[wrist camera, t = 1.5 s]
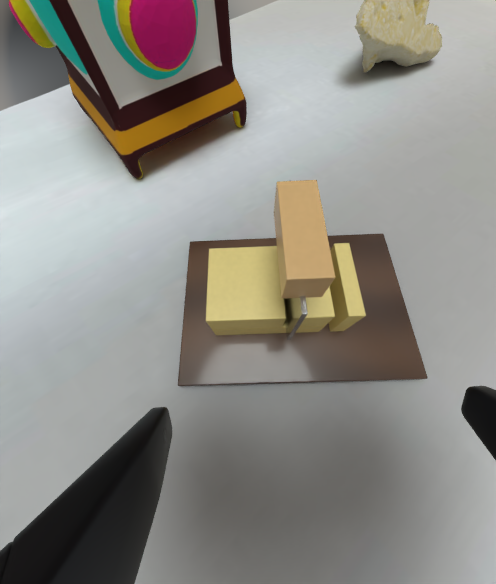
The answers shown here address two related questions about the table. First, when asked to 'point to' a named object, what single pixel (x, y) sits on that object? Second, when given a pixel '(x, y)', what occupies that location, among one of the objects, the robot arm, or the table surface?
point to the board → (306, 345)
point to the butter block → (254, 294)
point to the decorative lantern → (141, 65)
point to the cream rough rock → (396, 32)
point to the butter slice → (345, 289)
